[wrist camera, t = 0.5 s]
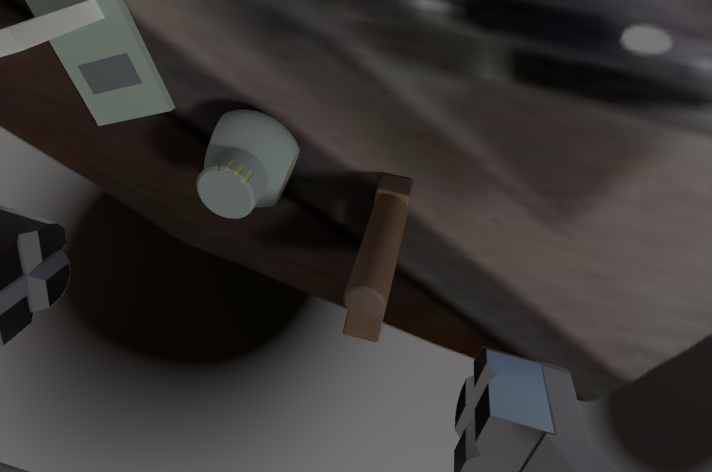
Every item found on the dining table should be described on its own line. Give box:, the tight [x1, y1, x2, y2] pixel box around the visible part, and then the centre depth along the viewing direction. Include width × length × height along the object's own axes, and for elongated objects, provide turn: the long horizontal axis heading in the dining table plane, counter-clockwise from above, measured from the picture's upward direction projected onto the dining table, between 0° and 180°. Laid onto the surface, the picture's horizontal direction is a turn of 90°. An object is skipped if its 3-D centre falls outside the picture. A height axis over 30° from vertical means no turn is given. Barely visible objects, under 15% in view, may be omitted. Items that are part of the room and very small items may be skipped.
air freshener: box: [197, 110, 300, 219], centre depth 51 cm, size 11×8×10 cm
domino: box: [0, 0, 105, 57], centre depth 44 cm, size 2×6×11 cm, turn 105°
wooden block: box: [343, 174, 414, 342], centre depth 49 cm, size 4×11×18 cm, turn 173°
